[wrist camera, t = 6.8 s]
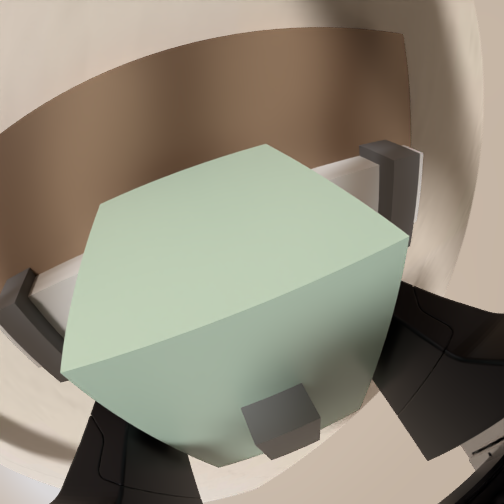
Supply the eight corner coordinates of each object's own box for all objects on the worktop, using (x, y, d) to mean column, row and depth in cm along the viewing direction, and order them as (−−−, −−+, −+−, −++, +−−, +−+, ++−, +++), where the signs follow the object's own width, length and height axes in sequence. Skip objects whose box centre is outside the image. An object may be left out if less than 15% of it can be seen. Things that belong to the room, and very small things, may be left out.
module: (265, 143, 8) (450, 268, 3) (293, 305, 12) (371, 426, 7) (100, 204, 7) (57, 426, 2) (184, 348, 11) (226, 487, 6)
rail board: (379, 34, 9) (439, 35, 6) (381, 266, 17) (415, 299, 14) (-51, 185, 6) (-95, 224, 3) (93, 379, 14) (95, 427, 11)
